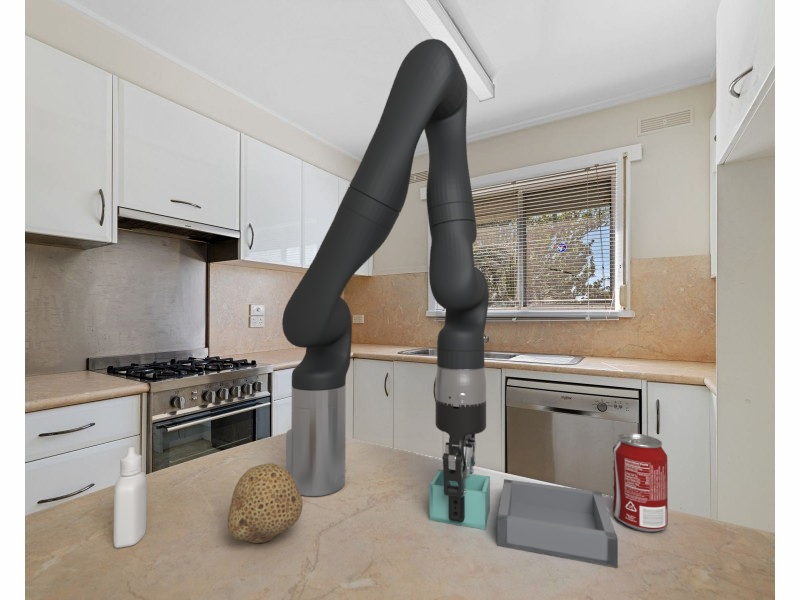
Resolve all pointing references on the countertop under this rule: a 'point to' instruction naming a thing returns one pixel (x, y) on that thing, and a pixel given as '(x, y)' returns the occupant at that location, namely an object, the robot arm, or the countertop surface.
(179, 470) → the countertop surface
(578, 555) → the large crate
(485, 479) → the small crate
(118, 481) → the eye dropper bottle
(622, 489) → the soda can
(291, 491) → the natural sponge
